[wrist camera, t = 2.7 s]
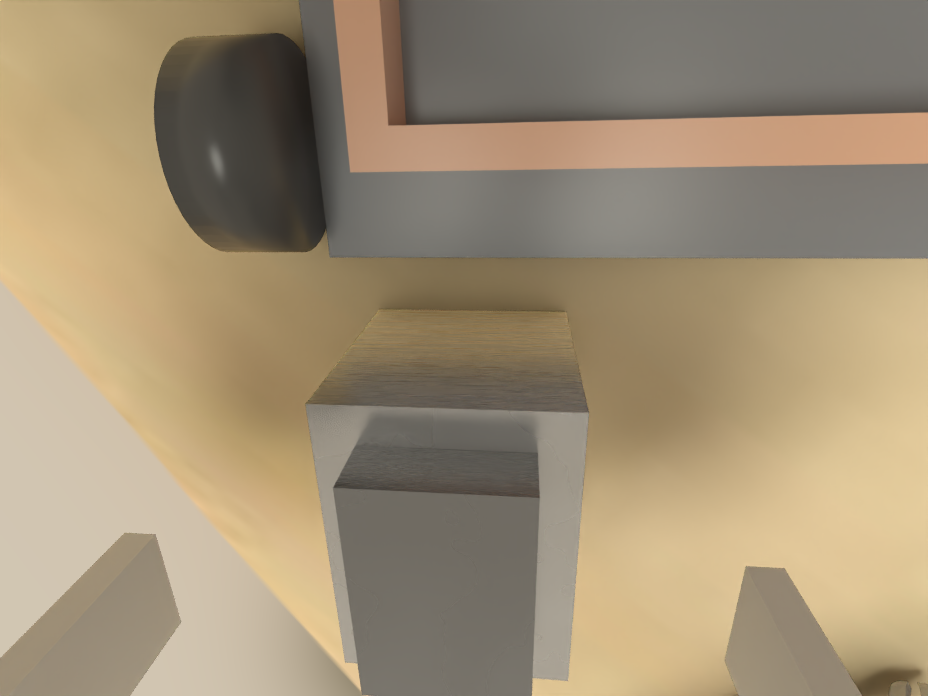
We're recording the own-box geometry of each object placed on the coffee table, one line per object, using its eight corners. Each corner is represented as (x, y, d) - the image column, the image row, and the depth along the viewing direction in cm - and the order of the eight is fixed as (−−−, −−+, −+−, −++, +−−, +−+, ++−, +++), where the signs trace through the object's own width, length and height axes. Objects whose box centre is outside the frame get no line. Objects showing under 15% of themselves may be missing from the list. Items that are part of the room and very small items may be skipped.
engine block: (379, 308, 17) (275, 441, 10) (565, 310, 17) (598, 454, 9) (397, 505, 21) (326, 718, 13) (554, 514, 20) (572, 741, 13)
